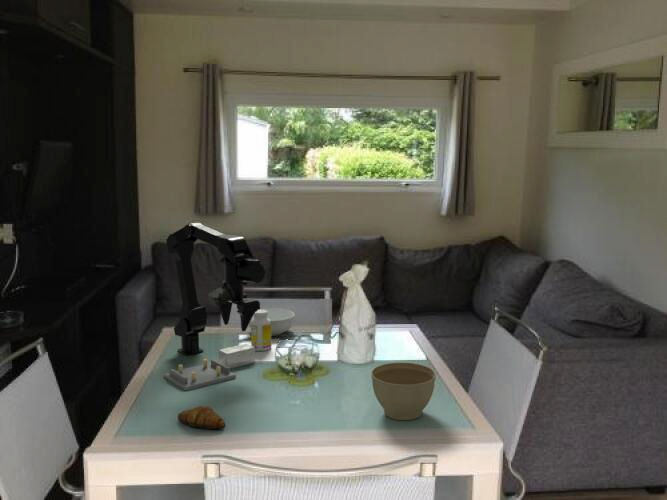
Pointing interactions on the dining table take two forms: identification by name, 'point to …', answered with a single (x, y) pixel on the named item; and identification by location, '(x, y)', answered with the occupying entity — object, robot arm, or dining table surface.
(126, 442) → the dining table surface
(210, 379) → the tray
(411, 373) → the planter bowl
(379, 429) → the dining table surface
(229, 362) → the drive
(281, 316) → the cereal bowl
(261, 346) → the supplement bottle
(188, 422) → the croissant
